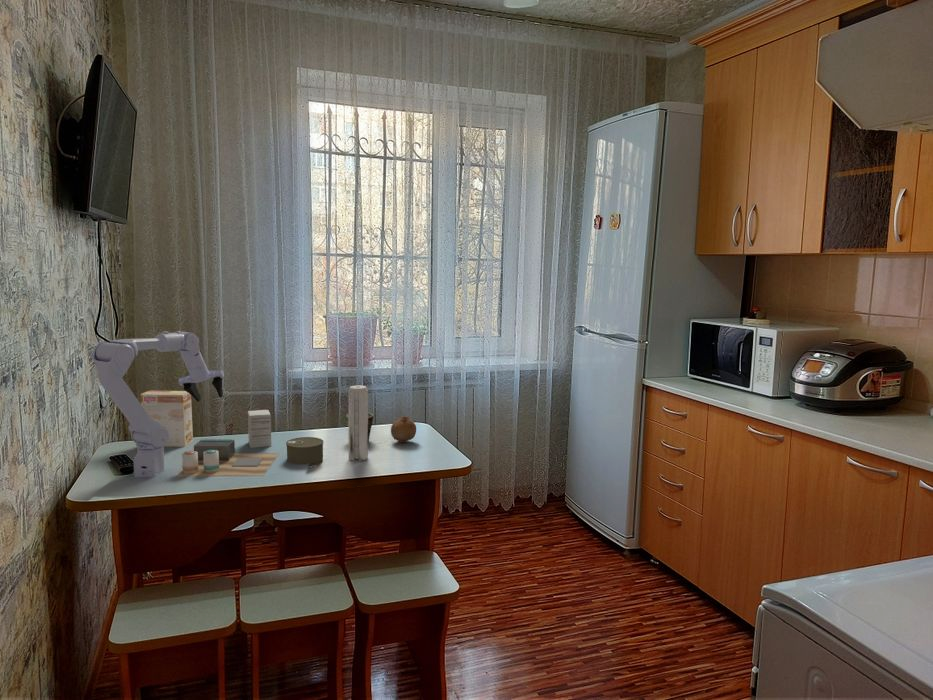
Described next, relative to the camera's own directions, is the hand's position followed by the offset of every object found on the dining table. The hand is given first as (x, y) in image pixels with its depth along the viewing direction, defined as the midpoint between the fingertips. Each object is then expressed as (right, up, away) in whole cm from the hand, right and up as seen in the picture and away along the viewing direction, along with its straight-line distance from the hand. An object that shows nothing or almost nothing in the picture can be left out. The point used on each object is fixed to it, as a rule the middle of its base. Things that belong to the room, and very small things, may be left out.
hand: (210, 397), depth 218 cm
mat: (+16, -20, -9) cm, 27 cm away
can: (+33, -21, -4) cm, 40 cm away
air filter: (+50, -21, +1) cm, 54 cm away
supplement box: (+13, -19, +12) cm, 25 cm away
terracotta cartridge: (+2, -21, -19) cm, 29 cm away
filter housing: (+3, -19, -5) cm, 20 cm away
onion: (+64, -18, +21) cm, 69 cm away
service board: (+11, -21, -11) cm, 26 cm away
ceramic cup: (+48, -18, +19) cm, 55 cm away
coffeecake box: (-19, -18, +10) cm, 28 cm away
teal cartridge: (+7, -21, -18) cm, 29 cm away
